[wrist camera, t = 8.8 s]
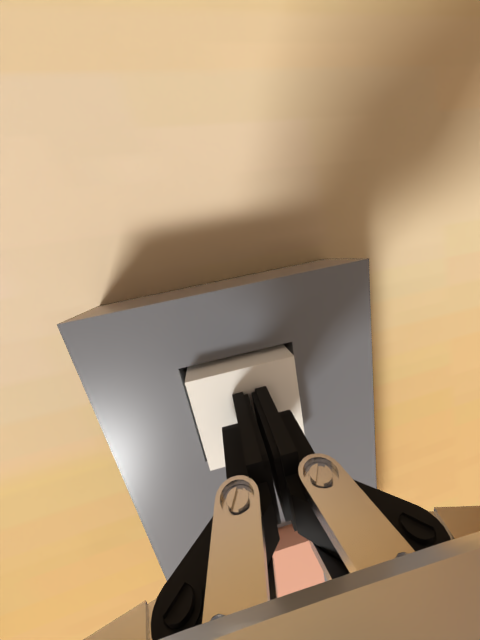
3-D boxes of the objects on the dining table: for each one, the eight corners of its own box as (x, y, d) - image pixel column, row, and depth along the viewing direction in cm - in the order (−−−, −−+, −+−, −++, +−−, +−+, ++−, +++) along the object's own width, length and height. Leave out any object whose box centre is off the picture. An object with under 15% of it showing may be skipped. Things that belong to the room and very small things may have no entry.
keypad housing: (98, 305, 13) (56, 324, 10) (326, 258, 15) (368, 258, 11) (197, 573, 20) (195, 647, 16) (348, 524, 21) (379, 582, 17)
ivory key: (189, 355, 13) (184, 382, 10) (274, 335, 13) (294, 356, 11) (209, 428, 14) (210, 470, 11) (286, 408, 15) (305, 443, 12)
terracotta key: (231, 510, 16) (237, 564, 13) (299, 489, 17) (318, 537, 14) (244, 557, 18) (252, 615, 15) (306, 537, 18) (325, 589, 15)
